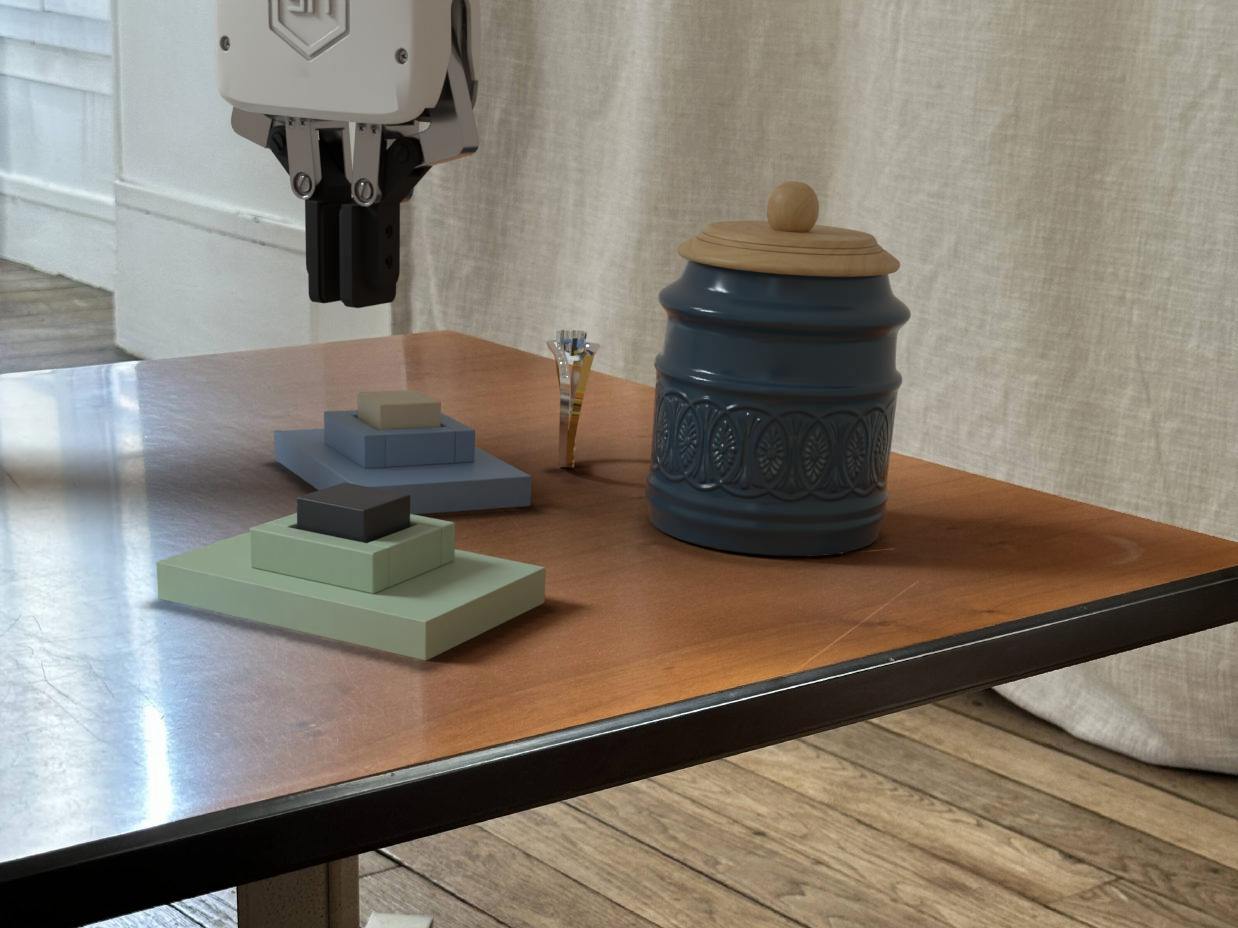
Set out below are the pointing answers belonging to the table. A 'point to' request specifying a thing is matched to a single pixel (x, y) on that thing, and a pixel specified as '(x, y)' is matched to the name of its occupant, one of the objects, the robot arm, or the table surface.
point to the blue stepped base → (405, 463)
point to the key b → (398, 409)
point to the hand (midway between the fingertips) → (352, 299)
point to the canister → (776, 386)
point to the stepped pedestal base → (356, 585)
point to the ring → (571, 386)
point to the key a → (353, 512)
